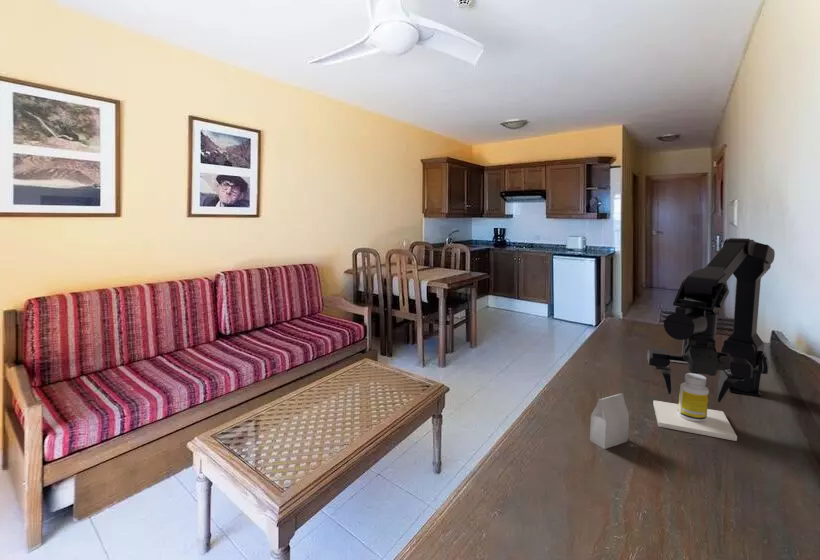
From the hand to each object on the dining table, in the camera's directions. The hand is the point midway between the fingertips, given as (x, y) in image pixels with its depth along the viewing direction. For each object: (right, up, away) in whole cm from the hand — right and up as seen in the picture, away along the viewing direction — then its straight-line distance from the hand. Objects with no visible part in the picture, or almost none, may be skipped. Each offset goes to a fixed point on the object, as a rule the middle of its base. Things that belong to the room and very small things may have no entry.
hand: (693, 397), depth 90 cm
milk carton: (-23, -8, -6) cm, 25 cm away
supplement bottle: (0, -5, +1) cm, 5 cm away
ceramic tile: (0, -6, +1) cm, 6 cm away
